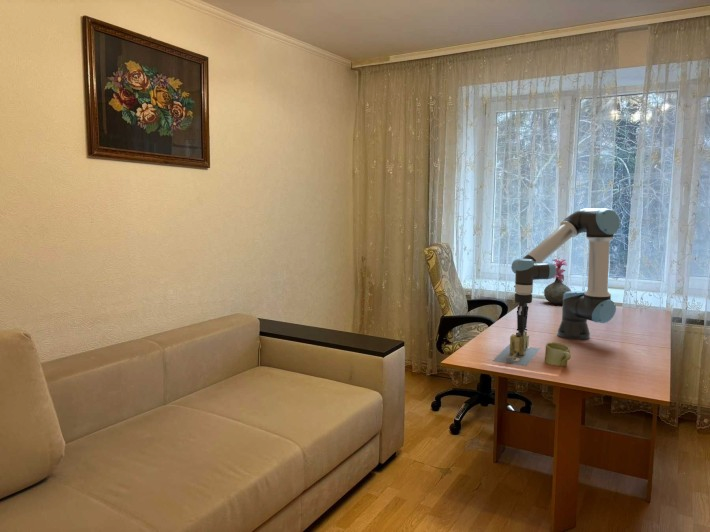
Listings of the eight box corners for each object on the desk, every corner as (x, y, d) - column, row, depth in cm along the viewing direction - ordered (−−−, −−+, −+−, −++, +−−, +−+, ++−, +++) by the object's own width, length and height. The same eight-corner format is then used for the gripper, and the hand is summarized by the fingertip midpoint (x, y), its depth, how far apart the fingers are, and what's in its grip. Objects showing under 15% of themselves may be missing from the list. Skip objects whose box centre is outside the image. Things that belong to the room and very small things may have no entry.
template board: (540, 349, 242) (540, 347, 242) (526, 367, 215) (526, 365, 215) (509, 345, 249) (509, 343, 248) (492, 362, 222) (492, 360, 222)
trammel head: (525, 352, 233) (526, 332, 232) (523, 355, 229) (524, 335, 228) (512, 351, 236) (512, 331, 234) (509, 353, 232) (510, 333, 231)
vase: (546, 305, 344) (548, 260, 340) (541, 301, 361) (543, 257, 357) (573, 306, 341) (575, 261, 337) (567, 301, 358) (569, 258, 354)
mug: (536, 356, 225) (546, 336, 222) (557, 362, 226) (567, 343, 223) (546, 370, 213) (557, 349, 210) (569, 377, 215) (580, 356, 212)
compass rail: (528, 347, 243) (529, 331, 242) (514, 364, 218) (514, 346, 217) (519, 346, 245) (520, 330, 244) (504, 362, 220) (505, 345, 219)
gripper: (518, 290, 243) (516, 340, 245) (511, 294, 231) (509, 346, 234) (535, 292, 239) (532, 342, 242) (529, 296, 228) (526, 349, 231)
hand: (521, 344), depth 238 cm, fingers closed
